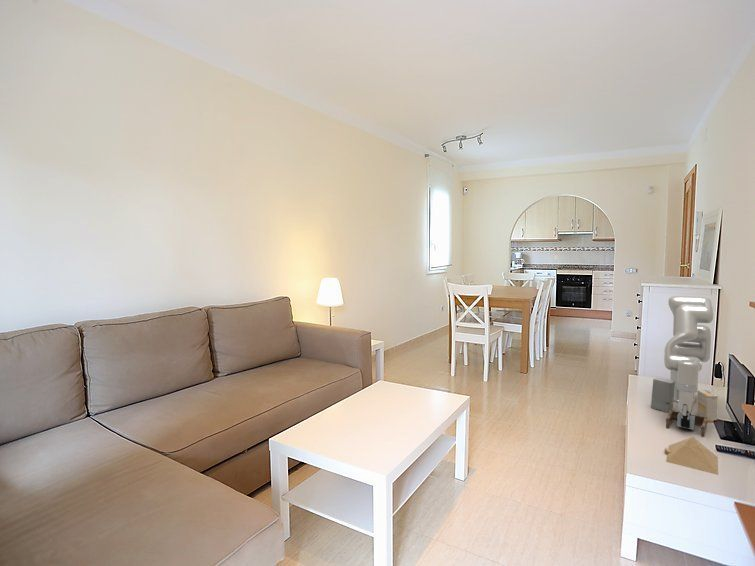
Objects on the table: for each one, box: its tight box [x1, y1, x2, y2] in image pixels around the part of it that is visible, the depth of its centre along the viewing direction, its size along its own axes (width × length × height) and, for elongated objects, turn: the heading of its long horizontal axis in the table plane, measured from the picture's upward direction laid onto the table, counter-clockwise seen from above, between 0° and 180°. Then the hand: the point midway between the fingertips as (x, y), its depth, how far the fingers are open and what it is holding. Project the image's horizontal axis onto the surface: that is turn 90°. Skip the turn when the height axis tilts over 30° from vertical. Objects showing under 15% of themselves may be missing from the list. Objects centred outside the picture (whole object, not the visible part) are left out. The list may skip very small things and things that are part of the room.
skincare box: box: [650, 376, 675, 413], centre depth 210 cm, size 8×7×16 cm
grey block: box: [676, 413, 696, 430], centre depth 187 cm, size 4×6×5 cm
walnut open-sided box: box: [665, 409, 708, 438], centre depth 189 cm, size 13×14×4 cm
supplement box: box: [696, 389, 719, 423], centre depth 197 cm, size 8×5×13 cm, turn 168°
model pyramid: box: [664, 436, 719, 476], centre depth 162 cm, size 17×17×10 cm
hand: (685, 424), depth 187 cm, fingers closed on grey block, 4 cm apart
